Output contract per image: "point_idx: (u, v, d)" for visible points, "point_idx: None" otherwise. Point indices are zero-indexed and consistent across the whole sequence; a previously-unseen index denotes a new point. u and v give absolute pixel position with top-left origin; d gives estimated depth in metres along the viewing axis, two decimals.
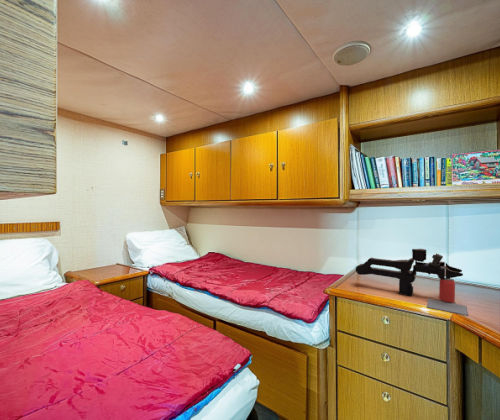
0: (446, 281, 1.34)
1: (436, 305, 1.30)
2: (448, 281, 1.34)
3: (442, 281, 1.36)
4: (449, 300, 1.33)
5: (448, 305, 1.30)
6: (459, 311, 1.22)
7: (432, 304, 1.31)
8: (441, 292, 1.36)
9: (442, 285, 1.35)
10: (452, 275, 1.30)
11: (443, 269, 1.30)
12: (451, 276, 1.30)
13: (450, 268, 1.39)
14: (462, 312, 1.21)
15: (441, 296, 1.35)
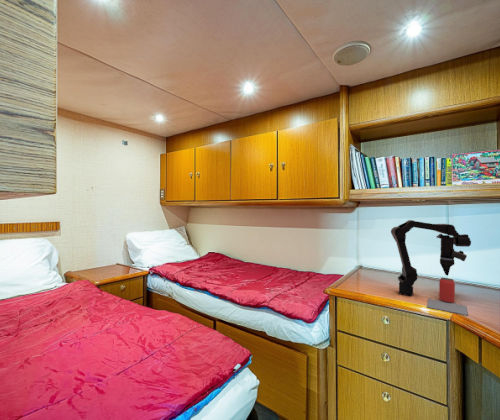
0: (446, 281, 1.34)
1: (436, 305, 1.30)
2: (448, 281, 1.34)
3: (442, 281, 1.36)
4: (449, 300, 1.33)
5: (448, 305, 1.30)
6: (459, 311, 1.22)
7: (432, 304, 1.31)
8: (441, 292, 1.36)
9: (442, 285, 1.35)
10: (444, 267, 1.40)
11: (452, 263, 1.35)
12: (443, 267, 1.40)
13: None
14: (462, 312, 1.21)
15: (441, 296, 1.35)
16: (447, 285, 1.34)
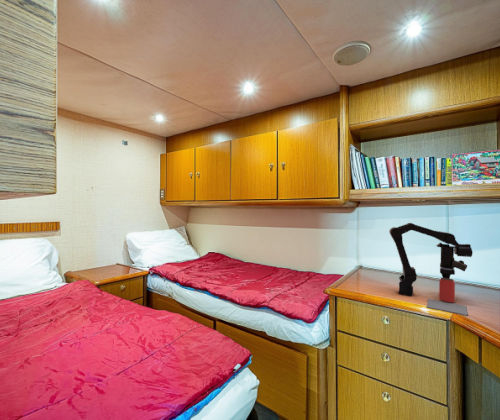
0: (446, 281, 1.34)
1: (436, 305, 1.30)
2: (448, 281, 1.34)
3: (442, 281, 1.36)
4: (449, 300, 1.33)
5: (448, 305, 1.30)
6: (459, 311, 1.22)
7: (432, 304, 1.31)
8: (441, 292, 1.36)
9: (442, 285, 1.35)
10: (444, 276, 1.40)
11: (452, 273, 1.31)
12: (443, 275, 1.40)
13: None
14: (462, 312, 1.21)
15: (441, 296, 1.35)
16: (447, 285, 1.33)
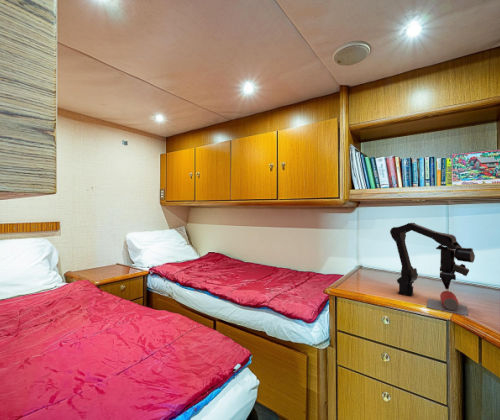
0: (449, 309, 1.24)
1: (436, 305, 1.30)
2: (450, 309, 1.23)
3: (444, 306, 1.25)
4: None
5: None
6: (459, 311, 1.22)
7: (432, 304, 1.31)
8: None
9: None
10: (444, 281, 1.30)
11: (453, 278, 1.22)
12: (443, 280, 1.30)
13: None
14: (462, 312, 1.21)
15: None
16: None
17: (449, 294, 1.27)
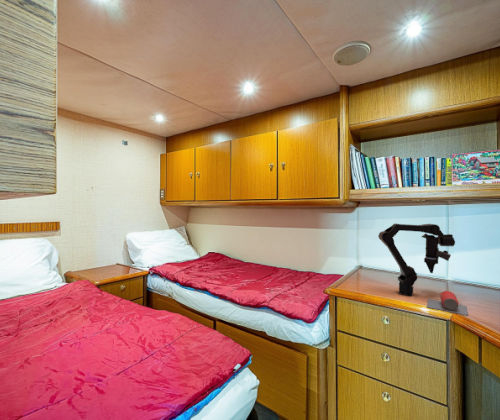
0: (449, 309, 1.24)
1: (436, 305, 1.30)
2: (450, 309, 1.23)
3: (444, 306, 1.25)
4: None
5: None
6: (459, 311, 1.22)
7: (432, 304, 1.31)
8: None
9: None
10: (429, 265, 1.45)
11: (436, 262, 1.36)
12: (428, 265, 1.45)
13: None
14: (462, 312, 1.21)
15: None
16: None
17: (449, 294, 1.27)
